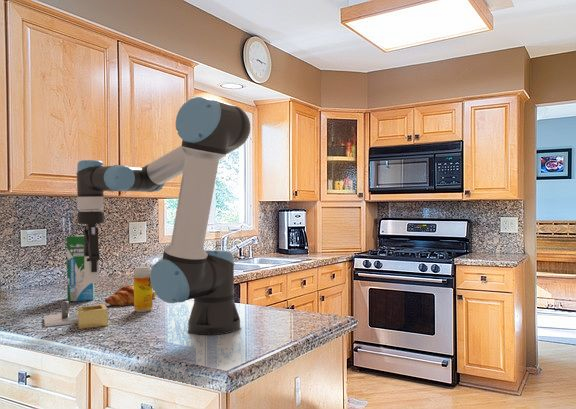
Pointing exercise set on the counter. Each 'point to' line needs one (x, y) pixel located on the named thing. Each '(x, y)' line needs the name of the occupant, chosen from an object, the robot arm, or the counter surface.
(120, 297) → the croissant
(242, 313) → the counter surface
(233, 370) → the counter surface
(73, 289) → the milk carton
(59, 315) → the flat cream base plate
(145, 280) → the yellow bottle
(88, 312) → the yellow hollow block
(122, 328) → the counter surface
